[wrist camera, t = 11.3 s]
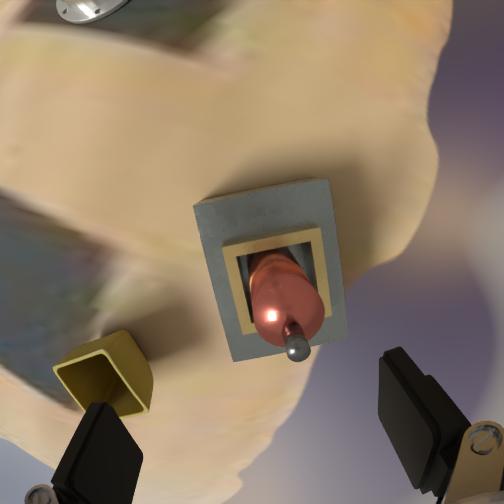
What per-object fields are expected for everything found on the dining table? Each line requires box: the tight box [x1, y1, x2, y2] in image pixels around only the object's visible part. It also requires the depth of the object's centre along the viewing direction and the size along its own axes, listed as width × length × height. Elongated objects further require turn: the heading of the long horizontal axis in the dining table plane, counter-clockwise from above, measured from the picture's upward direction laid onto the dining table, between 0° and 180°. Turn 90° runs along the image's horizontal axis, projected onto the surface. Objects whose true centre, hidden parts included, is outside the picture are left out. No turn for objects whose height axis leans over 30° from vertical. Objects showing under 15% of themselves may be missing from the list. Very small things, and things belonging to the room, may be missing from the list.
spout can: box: [247, 246, 325, 362], centre depth 25 cm, size 5×5×15 cm
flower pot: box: [53, 330, 153, 419], centre depth 32 cm, size 9×9×9 cm
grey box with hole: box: [193, 178, 348, 362], centre depth 31 cm, size 16×12×8 cm
